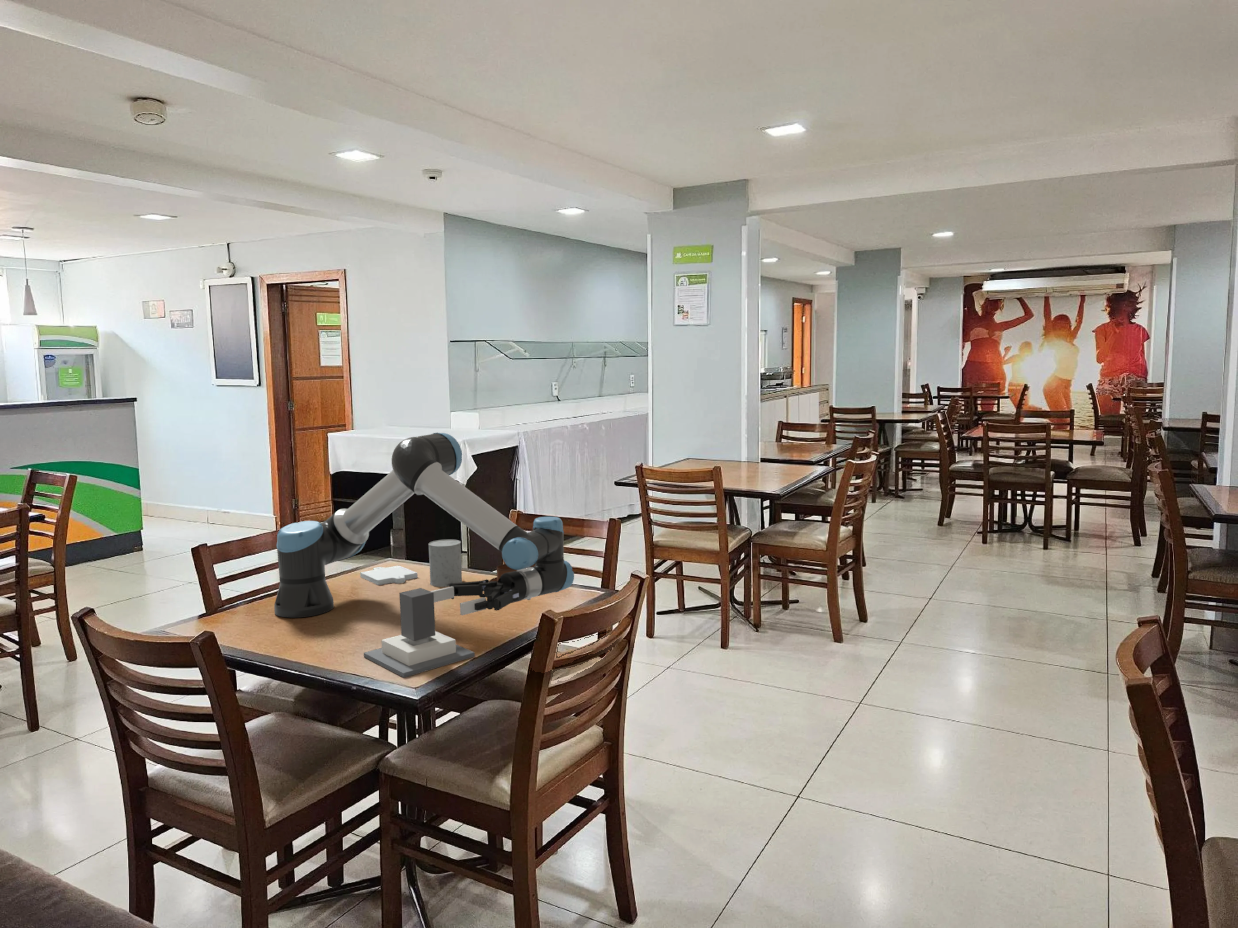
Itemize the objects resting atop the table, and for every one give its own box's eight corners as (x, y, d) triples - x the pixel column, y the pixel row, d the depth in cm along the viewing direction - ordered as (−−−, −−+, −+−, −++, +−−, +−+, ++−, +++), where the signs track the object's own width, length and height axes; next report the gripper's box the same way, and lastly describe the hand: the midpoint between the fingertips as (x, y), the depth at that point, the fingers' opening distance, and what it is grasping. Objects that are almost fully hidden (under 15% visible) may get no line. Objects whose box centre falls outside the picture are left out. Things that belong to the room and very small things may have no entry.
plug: (402, 652, 195) (399, 592, 193) (423, 646, 199) (420, 587, 197) (414, 658, 191) (411, 597, 189) (436, 652, 195) (433, 592, 193)
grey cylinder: (455, 587, 253) (453, 546, 252) (424, 586, 255) (423, 545, 253) (467, 579, 262) (465, 539, 261) (437, 577, 264) (436, 538, 263)
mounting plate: (357, 576, 269) (356, 570, 269) (395, 569, 277) (395, 563, 277) (381, 588, 255) (381, 581, 255) (421, 580, 263) (421, 574, 263)
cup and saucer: (506, 579, 262) (505, 560, 261) (538, 584, 256) (537, 564, 255) (480, 589, 251) (480, 568, 251) (513, 594, 245) (513, 573, 245)
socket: (363, 656, 195) (362, 639, 195) (432, 638, 208) (432, 622, 207) (403, 677, 182) (402, 659, 182) (474, 656, 195) (474, 639, 194)
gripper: (550, 610, 204) (475, 630, 190) (490, 590, 222) (418, 607, 208) (550, 579, 203) (474, 597, 189) (489, 562, 221) (416, 577, 207)
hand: (444, 603), depth 198 cm, fingers open, 13 cm apart
